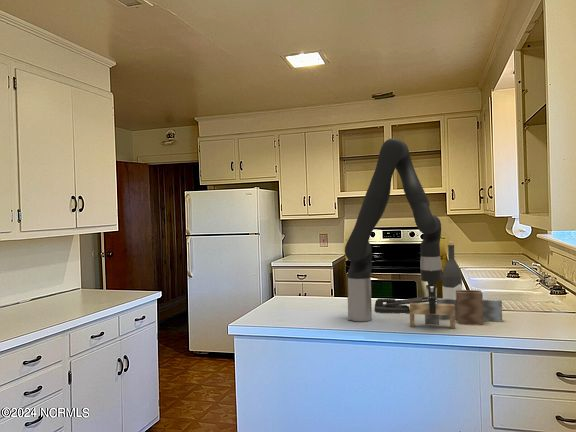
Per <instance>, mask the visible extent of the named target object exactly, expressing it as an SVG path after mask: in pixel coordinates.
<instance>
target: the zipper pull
mask: <svg viewBox="0 0 576 432" xmlns="http://www.w3.org/2000/svg"><path fill="white" fill-rule="evenodd" d="M428 300H429V298H427V296H422V297H421V296H420V297H413V298H412V297H411V298H407V299H395V298H377V299H376V300H375V303H374V312H375V313H376V314H377V313H378V314H400V313H406V314H409V313H410V303H428ZM408 312H409V313H408Z"/></svg>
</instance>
